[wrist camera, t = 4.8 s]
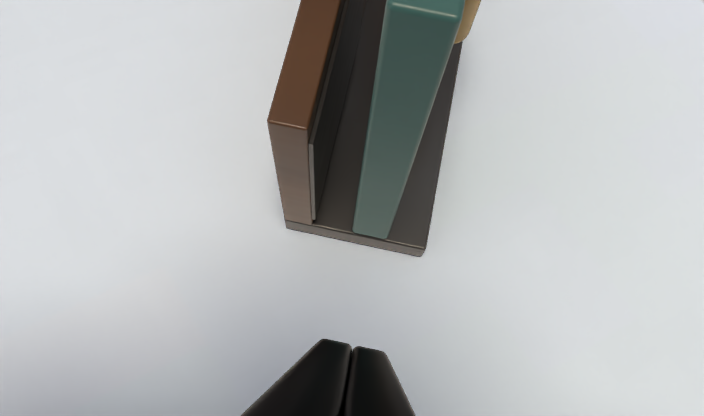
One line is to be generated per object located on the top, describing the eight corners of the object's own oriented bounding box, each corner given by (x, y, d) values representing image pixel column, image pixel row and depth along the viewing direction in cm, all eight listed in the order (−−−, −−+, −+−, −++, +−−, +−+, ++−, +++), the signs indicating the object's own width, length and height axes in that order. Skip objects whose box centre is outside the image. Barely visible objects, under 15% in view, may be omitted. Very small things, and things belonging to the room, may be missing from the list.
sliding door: (419, 247, 18) (532, 36, 8) (351, 233, 18) (385, 5, 8) (452, 61, 19) (574, -284, 10) (391, 49, 20) (456, -306, 10)
